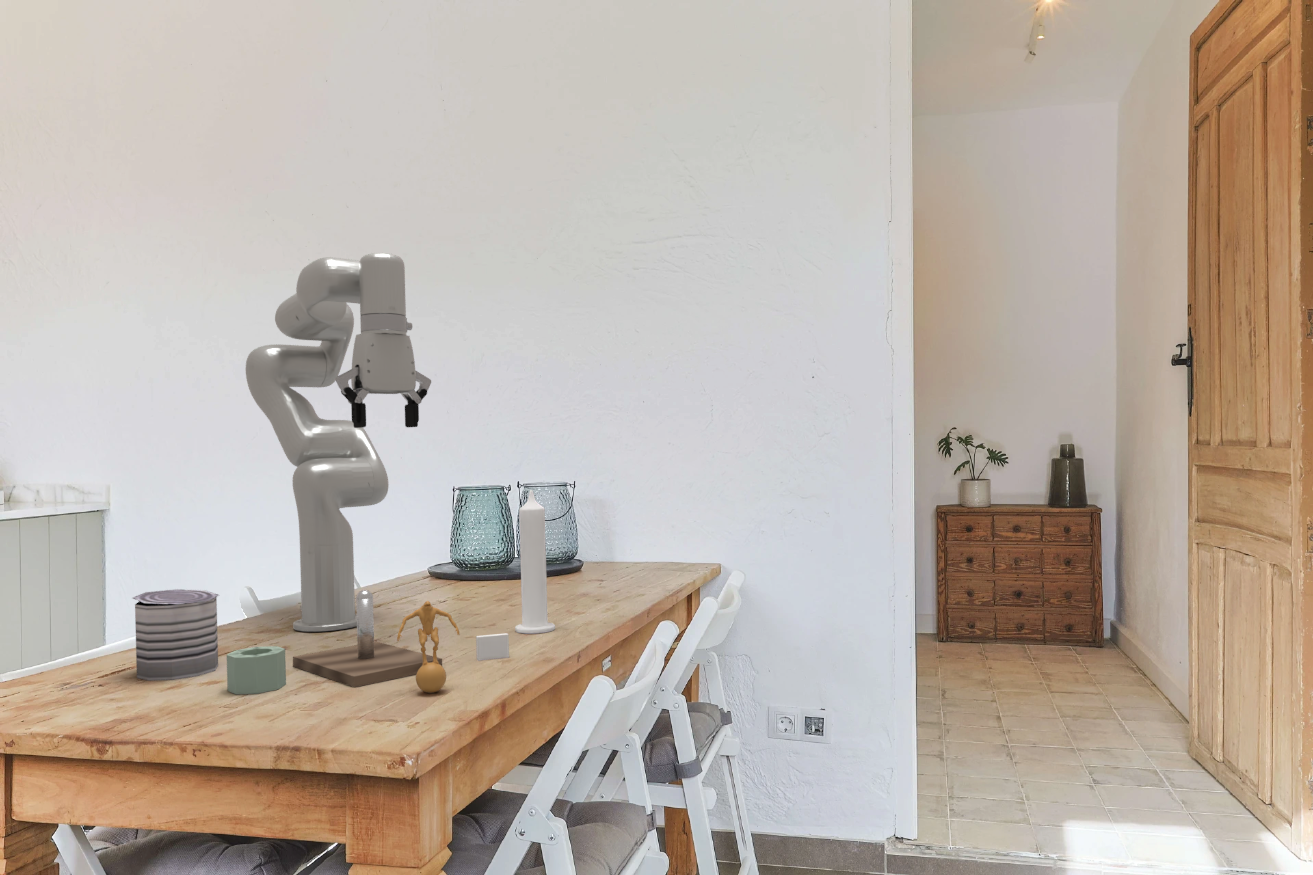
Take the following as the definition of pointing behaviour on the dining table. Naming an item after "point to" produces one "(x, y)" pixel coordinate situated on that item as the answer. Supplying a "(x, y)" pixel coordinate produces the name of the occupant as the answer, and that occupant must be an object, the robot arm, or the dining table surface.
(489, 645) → the eraser
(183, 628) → the can
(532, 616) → the candle
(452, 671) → the dining table surface
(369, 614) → the post
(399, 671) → the stand board
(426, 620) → the figurine
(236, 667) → the bead
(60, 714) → the dining table surface
